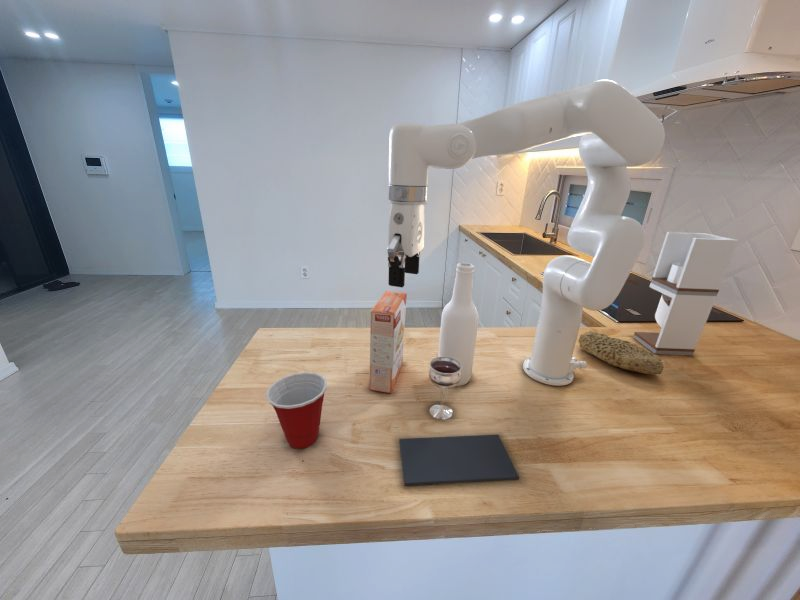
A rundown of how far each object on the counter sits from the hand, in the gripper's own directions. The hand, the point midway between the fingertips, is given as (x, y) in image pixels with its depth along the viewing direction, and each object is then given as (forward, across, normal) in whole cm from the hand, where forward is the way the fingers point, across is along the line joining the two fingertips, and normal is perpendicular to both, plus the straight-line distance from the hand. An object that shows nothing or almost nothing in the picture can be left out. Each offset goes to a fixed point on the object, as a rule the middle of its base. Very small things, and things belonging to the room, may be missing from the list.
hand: (404, 279), depth 71 cm
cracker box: (+28, +4, +5) cm, 29 cm away
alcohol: (+28, +10, -11) cm, 32 cm away
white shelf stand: (+28, +53, -70) cm, 92 cm away
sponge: (+28, +35, -53) cm, 70 cm away
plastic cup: (+28, -22, +12) cm, 38 cm away
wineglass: (+28, -4, -11) cm, 31 cm away
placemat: (+28, -16, -17) cm, 36 cm away
